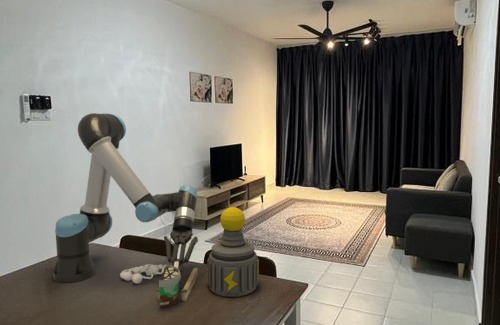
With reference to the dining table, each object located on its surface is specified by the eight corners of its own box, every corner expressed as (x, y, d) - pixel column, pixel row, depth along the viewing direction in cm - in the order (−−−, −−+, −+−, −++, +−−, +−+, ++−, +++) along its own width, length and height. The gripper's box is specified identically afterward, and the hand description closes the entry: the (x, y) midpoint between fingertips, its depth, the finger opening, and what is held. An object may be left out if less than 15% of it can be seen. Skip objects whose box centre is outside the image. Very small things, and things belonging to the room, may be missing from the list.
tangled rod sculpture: (152, 266, 167) (151, 257, 167) (176, 271, 159) (175, 261, 159) (114, 280, 151) (113, 270, 151) (138, 286, 143) (138, 275, 143)
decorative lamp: (203, 298, 134) (202, 213, 131) (211, 276, 153) (210, 201, 150) (258, 298, 134) (258, 213, 130) (258, 277, 152) (259, 202, 149)
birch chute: (156, 300, 132) (156, 290, 132) (172, 274, 154) (172, 266, 154) (186, 300, 132) (186, 290, 132) (198, 275, 154) (197, 266, 153)
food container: (178, 309, 126) (178, 281, 124) (159, 309, 126) (158, 281, 124) (183, 290, 138) (183, 264, 136) (165, 290, 138) (165, 264, 136)
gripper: (201, 226, 153) (194, 285, 138) (168, 226, 153) (158, 284, 138) (199, 216, 147) (191, 276, 132) (165, 216, 147) (153, 276, 133)
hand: (174, 280), depth 135 cm, fingers closed
